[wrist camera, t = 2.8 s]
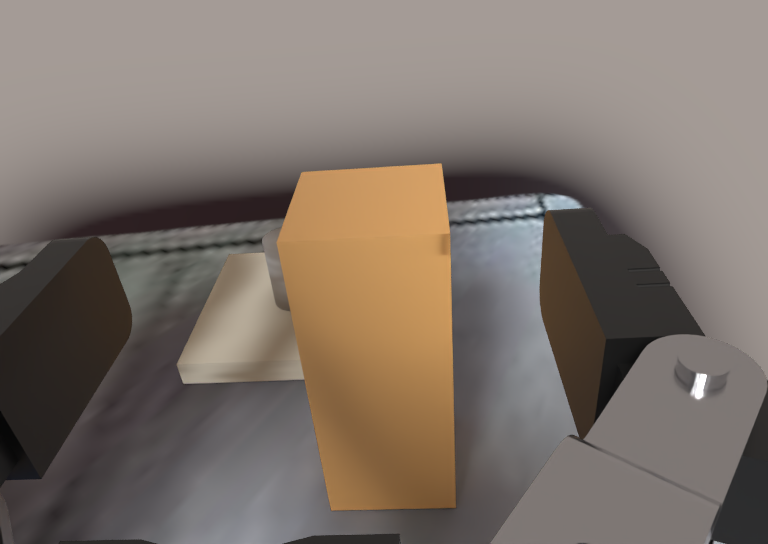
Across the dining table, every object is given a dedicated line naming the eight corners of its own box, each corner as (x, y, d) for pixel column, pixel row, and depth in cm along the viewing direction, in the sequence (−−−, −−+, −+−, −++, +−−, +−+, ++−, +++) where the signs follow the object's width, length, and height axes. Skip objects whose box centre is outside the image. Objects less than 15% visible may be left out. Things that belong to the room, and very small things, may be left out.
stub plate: (183, 383, 35) (154, 300, 32) (233, 271, 45) (214, 199, 42) (389, 376, 34) (380, 289, 31) (393, 263, 44) (387, 188, 41)
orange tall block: (331, 510, 27) (276, 242, 19) (342, 417, 32) (301, 172, 24) (456, 507, 27) (449, 233, 19) (448, 414, 31) (441, 163, 24)
